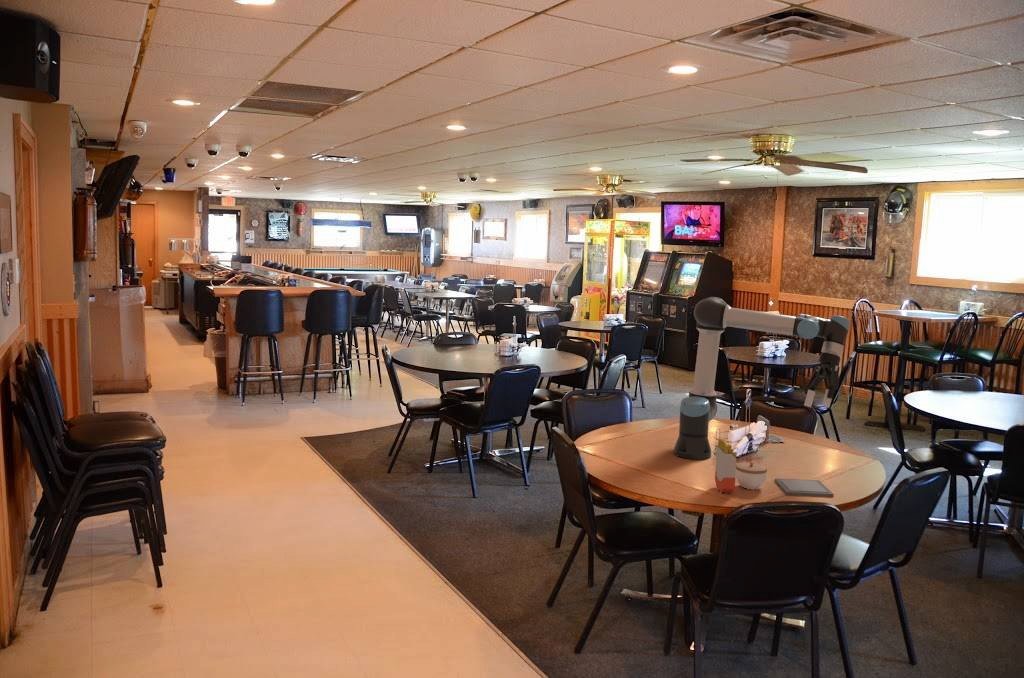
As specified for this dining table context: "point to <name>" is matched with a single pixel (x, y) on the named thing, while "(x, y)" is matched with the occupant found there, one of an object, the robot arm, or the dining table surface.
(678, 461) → the dining table surface
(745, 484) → the lidded jar
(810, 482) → the bar mat
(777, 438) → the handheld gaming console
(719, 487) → the french fries container
